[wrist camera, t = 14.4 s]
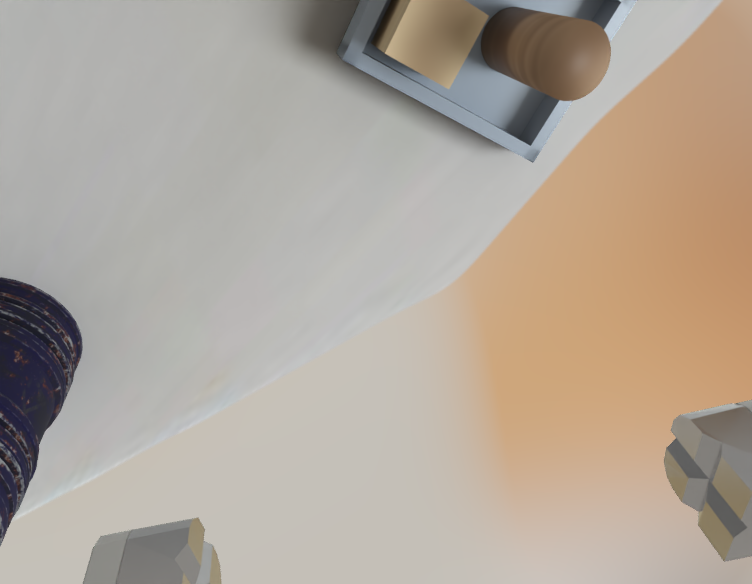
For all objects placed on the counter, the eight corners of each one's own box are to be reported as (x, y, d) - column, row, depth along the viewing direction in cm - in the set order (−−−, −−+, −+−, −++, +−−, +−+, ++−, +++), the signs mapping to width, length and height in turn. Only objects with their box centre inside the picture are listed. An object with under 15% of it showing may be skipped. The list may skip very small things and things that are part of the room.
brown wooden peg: (469, 55, 33) (524, 80, 27) (502, -6, 32) (569, 4, 25) (516, 83, 35) (580, 113, 28) (550, 25, 33) (625, 43, 27)
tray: (336, 52, 33) (342, 59, 31) (427, -147, 29) (441, -156, 27) (516, 150, 38) (533, 162, 36) (615, -7, 34) (640, -5, 32)
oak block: (370, 43, 32) (384, 53, 29) (404, -29, 31) (423, -27, 27) (429, 76, 34) (448, 89, 30) (464, 9, 32) (489, 16, 29)
